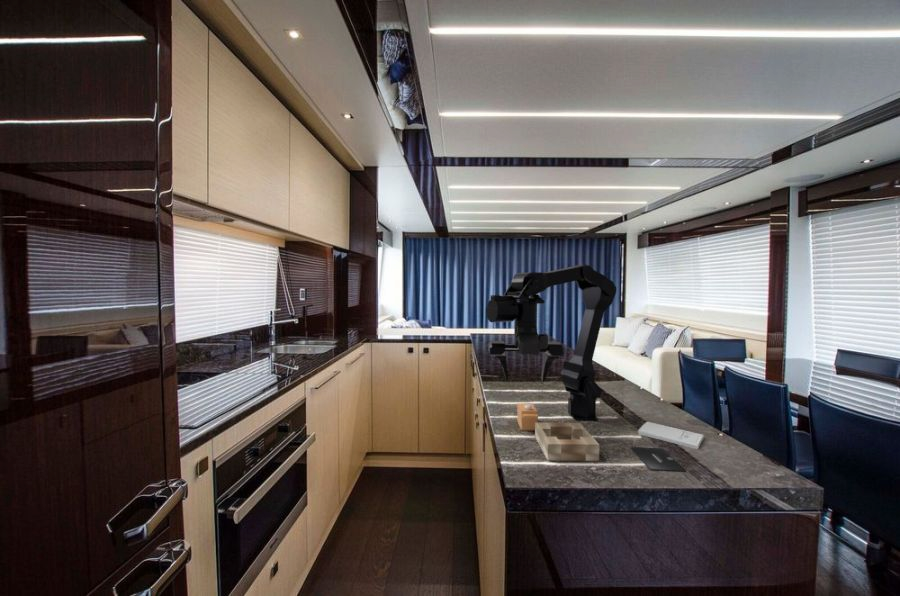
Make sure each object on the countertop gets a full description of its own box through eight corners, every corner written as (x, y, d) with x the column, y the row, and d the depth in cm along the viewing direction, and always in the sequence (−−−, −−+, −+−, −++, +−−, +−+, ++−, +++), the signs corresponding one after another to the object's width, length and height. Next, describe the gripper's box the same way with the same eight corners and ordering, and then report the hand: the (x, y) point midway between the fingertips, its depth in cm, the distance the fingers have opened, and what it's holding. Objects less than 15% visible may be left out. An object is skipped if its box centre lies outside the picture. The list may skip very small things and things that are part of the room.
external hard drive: (647, 426, 96) (703, 440, 87) (638, 436, 90) (697, 451, 81) (647, 420, 96) (703, 433, 87) (638, 429, 90) (698, 444, 81)
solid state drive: (662, 451, 81) (662, 448, 81) (687, 474, 72) (687, 470, 71) (630, 449, 82) (630, 446, 82) (650, 472, 72) (650, 469, 72)
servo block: (530, 419, 100) (531, 398, 100) (538, 433, 91) (538, 410, 90) (516, 419, 100) (516, 398, 100) (522, 433, 91) (522, 410, 90)
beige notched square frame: (579, 436, 88) (579, 422, 88) (599, 460, 76) (599, 444, 76) (535, 436, 88) (535, 422, 88) (547, 460, 76) (547, 444, 76)
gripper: (490, 323, 86) (490, 389, 86) (570, 325, 85) (569, 391, 85) (488, 319, 97) (488, 377, 97) (559, 320, 96) (558, 378, 96)
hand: (524, 381), depth 94 cm, fingers open, 9 cm apart
